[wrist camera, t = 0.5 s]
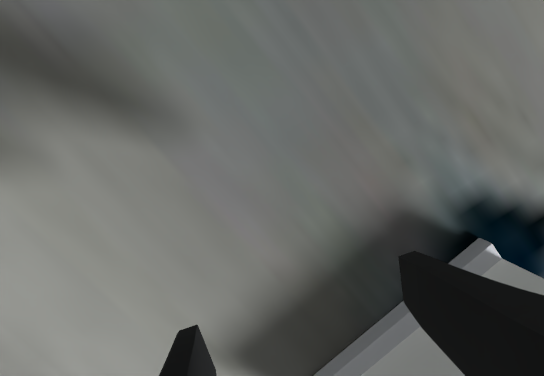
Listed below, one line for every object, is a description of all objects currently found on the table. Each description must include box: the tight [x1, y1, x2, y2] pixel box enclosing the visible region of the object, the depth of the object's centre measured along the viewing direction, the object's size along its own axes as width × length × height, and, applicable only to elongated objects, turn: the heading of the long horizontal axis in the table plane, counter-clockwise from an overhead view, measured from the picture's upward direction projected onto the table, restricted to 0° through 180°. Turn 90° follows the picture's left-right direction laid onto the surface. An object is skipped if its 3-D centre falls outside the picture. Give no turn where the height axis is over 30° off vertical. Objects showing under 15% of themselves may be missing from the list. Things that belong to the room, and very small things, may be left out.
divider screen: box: [313, 238, 544, 376], centre depth 21 cm, size 16×5×8 cm, turn 129°
